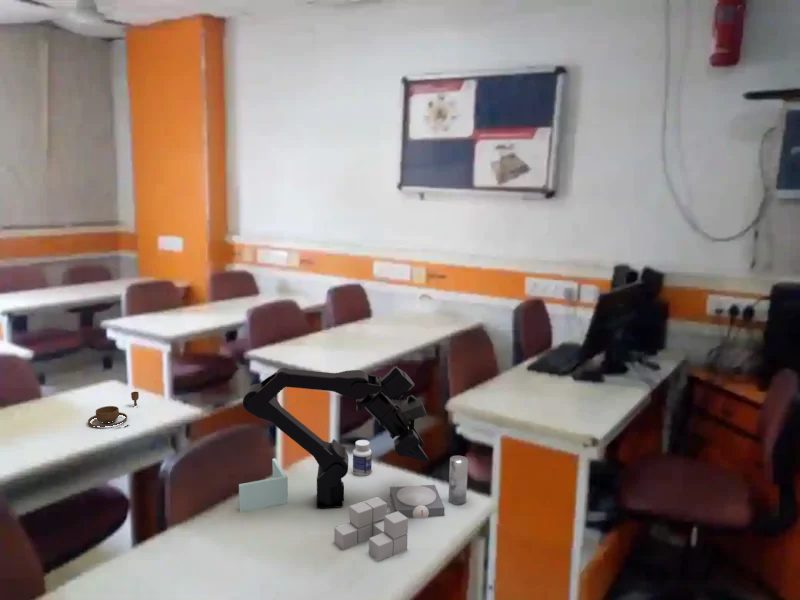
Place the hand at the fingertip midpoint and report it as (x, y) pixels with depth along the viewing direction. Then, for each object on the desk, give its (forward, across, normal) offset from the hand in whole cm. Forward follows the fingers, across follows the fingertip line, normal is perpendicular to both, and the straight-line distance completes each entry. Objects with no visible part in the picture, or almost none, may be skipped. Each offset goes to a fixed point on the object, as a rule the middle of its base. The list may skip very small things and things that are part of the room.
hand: (425, 453), depth 165 cm
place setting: (-56, +59, +80) cm, 114 cm away
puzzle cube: (0, -20, +20) cm, 28 cm away
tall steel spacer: (+16, 0, +3) cm, 16 cm away
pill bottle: (-1, +17, +21) cm, 27 cm away
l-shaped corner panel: (-19, +4, +41) cm, 45 cm away
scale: (+8, -2, +10) cm, 13 cm away
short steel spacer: (+2, -9, +18) cm, 20 cm away
